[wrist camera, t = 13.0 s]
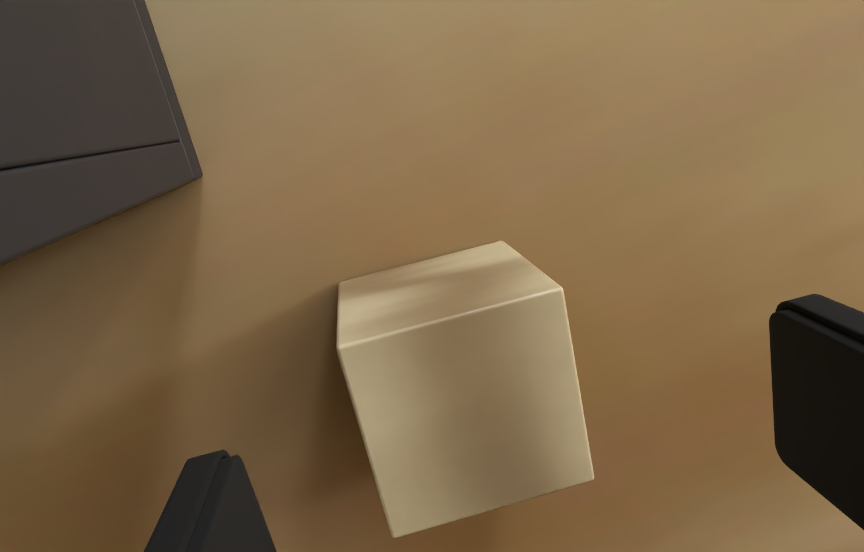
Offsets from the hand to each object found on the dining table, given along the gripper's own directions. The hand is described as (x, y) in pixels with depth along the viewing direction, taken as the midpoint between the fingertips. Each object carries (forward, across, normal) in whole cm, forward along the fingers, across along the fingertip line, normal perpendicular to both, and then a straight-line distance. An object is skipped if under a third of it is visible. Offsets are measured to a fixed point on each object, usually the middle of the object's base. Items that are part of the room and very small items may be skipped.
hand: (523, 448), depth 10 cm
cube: (+6, +1, 0) cm, 6 cm away
